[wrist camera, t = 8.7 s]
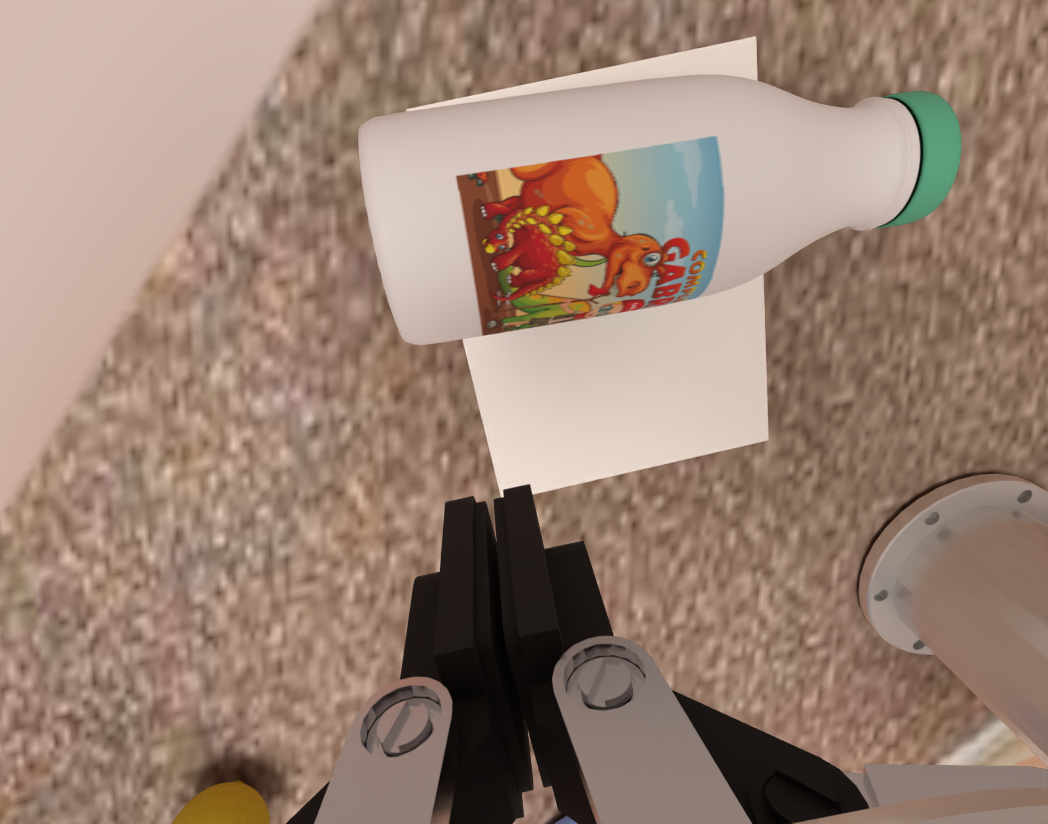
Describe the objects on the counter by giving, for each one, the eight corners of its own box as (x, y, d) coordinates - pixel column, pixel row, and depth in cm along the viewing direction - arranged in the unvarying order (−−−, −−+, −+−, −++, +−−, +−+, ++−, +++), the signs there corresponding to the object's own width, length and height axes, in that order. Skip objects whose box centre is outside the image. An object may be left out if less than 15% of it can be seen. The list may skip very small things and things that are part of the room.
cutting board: (744, 41, 24) (755, 36, 23) (759, 432, 31) (768, 440, 30) (408, 111, 24) (406, 109, 23) (500, 491, 31) (502, 501, 30)
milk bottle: (333, 78, 16) (1008, -12, 17) (377, 155, 24) (845, 88, 25) (389, 355, 17) (1013, 252, 19) (413, 344, 25) (856, 271, 26)
